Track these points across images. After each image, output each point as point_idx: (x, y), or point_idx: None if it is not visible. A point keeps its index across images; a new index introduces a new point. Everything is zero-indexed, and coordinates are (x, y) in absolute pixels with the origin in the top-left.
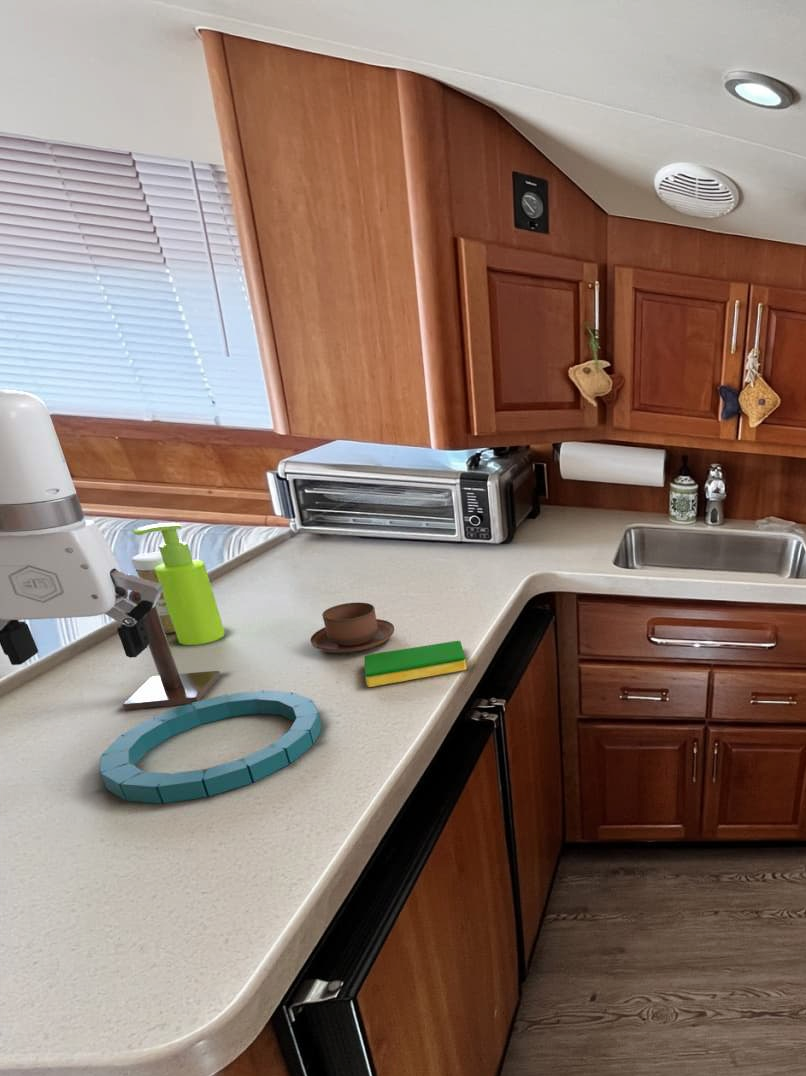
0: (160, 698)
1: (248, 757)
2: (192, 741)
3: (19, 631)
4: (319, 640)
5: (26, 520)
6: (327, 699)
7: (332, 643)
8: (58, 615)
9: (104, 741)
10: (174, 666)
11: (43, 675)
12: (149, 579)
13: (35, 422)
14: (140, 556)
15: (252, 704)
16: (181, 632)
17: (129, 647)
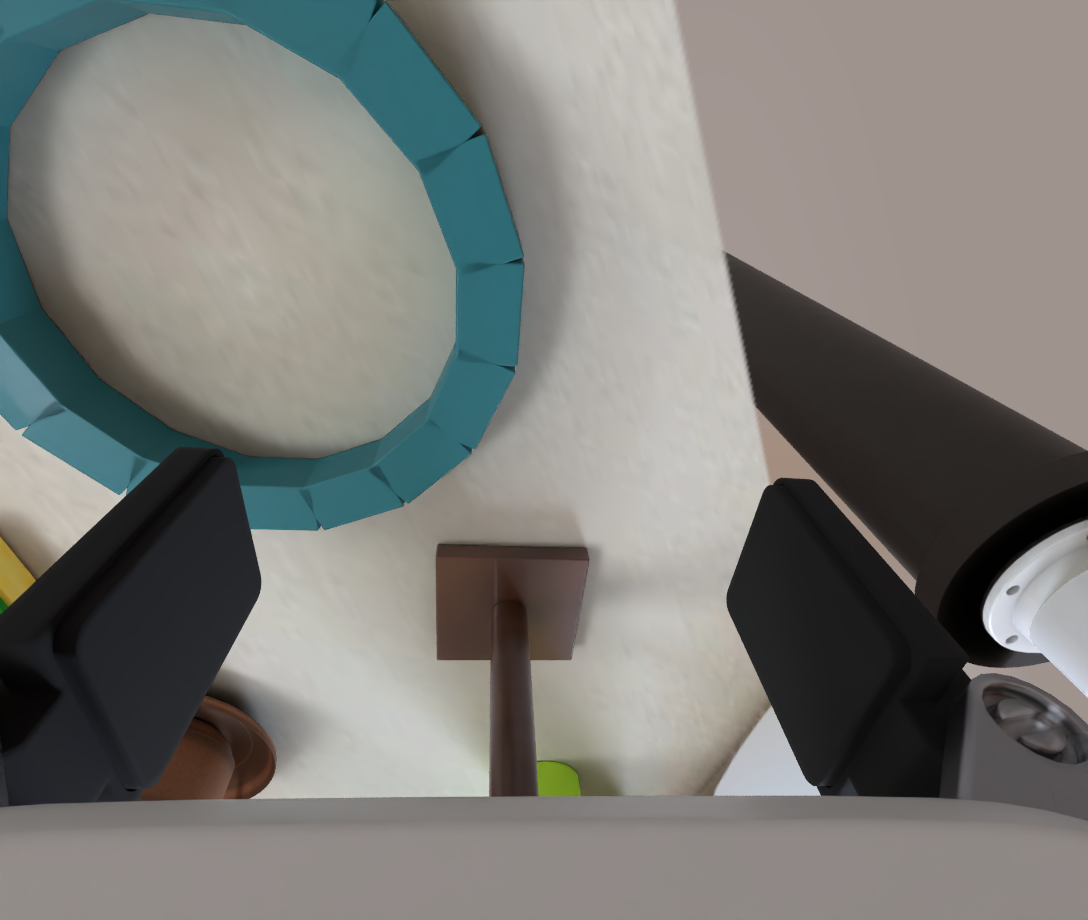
0: (516, 568)
1: None
2: (362, 352)
3: (835, 705)
4: (264, 744)
5: None
6: (84, 486)
7: (237, 732)
8: (394, 852)
9: (583, 419)
10: (491, 660)
11: (768, 700)
12: None
13: None
14: None
15: (243, 474)
16: (563, 795)
17: (137, 486)
